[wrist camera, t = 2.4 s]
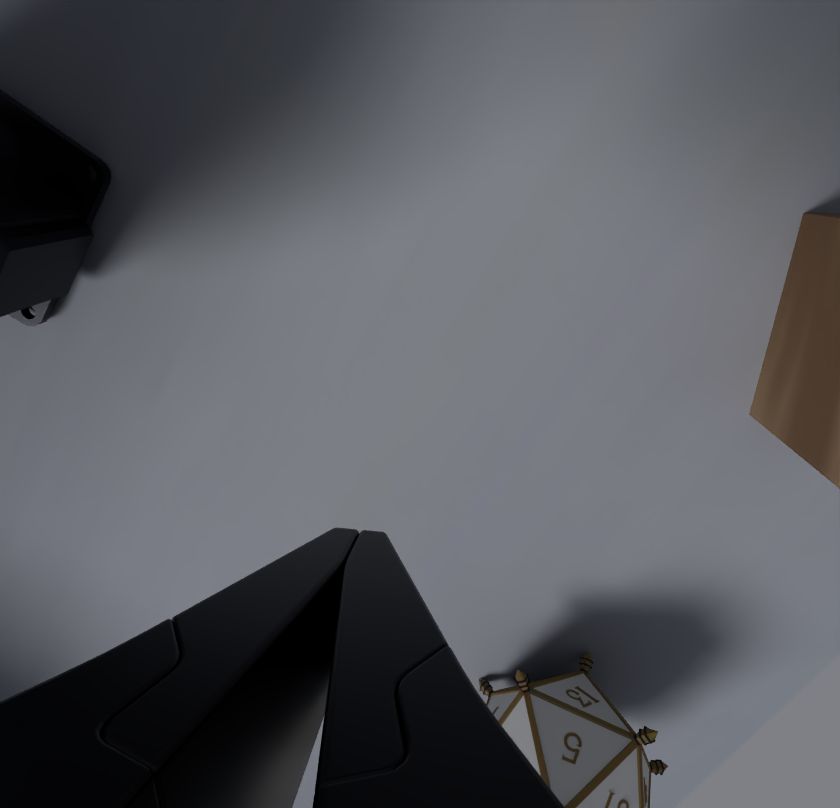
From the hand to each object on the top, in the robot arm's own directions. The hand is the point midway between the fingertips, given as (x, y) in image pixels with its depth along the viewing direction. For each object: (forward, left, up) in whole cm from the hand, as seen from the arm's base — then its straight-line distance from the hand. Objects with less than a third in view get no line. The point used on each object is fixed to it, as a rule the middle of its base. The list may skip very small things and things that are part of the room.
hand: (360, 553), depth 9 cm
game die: (+15, -10, -12) cm, 22 cm away
